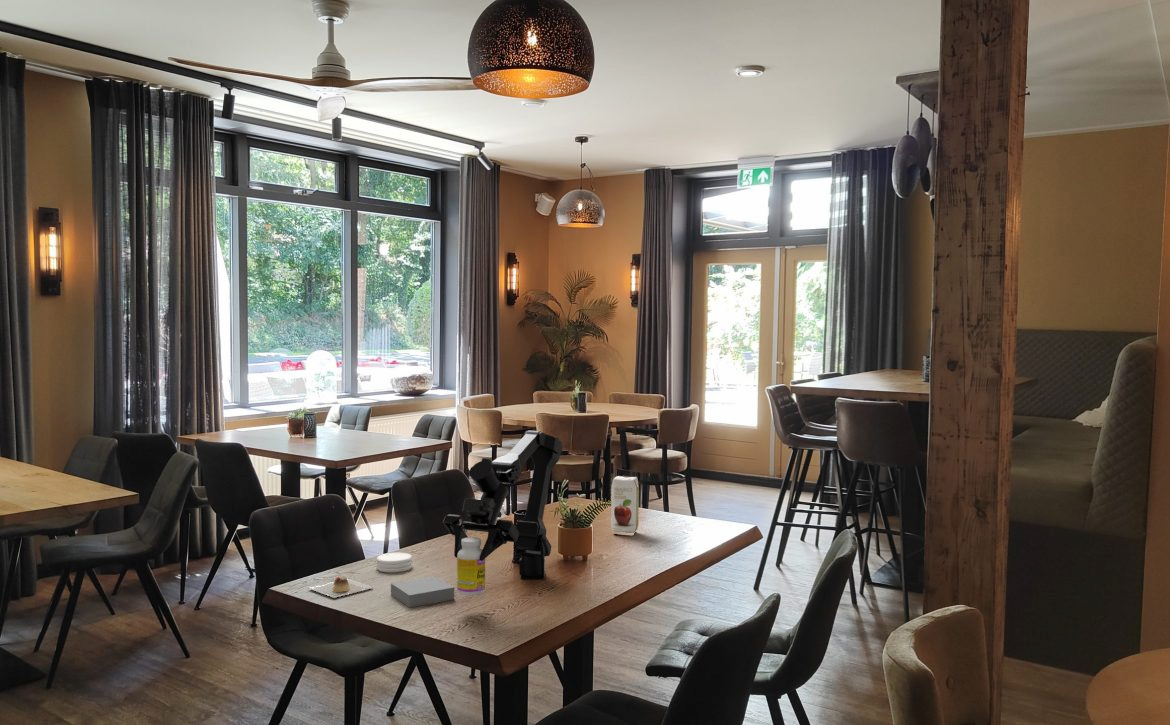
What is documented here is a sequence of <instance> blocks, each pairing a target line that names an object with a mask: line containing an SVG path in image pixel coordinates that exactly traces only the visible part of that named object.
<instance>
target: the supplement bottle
mask: <svg viewBox="0 0 1170 725" xmlns="http://www.w3.org/2000/svg"><path fill="white" fill-rule="evenodd" d="M467 537H468V538H463V539H462V540H461V545H462V549H461V550H460V551H459V552H458V554H457V558H456V562H457V563H456V565H457V567H456V568H457V570H456V571H457V573H456V574H457V578H456V580H457V581H456V584H457V586H456V588H457V589H456V591H457V593H458V594H459V595H461V596H464V597H465V596H467V597H474V596H479V595H482V594H483V593H485V591H486V558H485V559H484V560H483V561H481V560H480V555H481V552H482V550H483V548H481V545H482V539H481V538H480V537H476V536H475V537H474V536H473V537H471V536H470V537H469V536H467Z"/></svg>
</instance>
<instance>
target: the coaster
mask: <svg viewBox="0 0 1170 725" xmlns="http://www.w3.org/2000/svg"><path fill="white" fill-rule="evenodd" d="M412 568H413V555H411V554H410V553H407V552H387V553H383V554H380V555H378V556H377V557H376V570H377V571H378V572H382V573H389V574H391V573H392V574H393V573H402V572H406V571H409V570H411V569H412Z"/></svg>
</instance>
